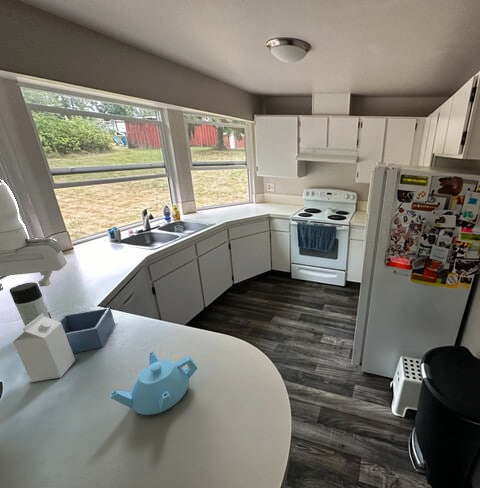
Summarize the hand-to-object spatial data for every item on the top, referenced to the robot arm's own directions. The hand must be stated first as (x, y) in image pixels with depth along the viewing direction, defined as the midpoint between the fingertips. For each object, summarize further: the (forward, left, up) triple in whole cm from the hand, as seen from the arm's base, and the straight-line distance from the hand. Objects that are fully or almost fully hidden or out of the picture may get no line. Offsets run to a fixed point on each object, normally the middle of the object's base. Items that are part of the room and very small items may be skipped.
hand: (22, 288), depth 68 cm
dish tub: (+2, +15, -30) cm, 33 cm away
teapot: (+31, -21, -30) cm, 48 cm away
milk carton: (-1, +1, -30) cm, 30 cm away
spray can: (-14, +25, -30) cm, 41 cm away
